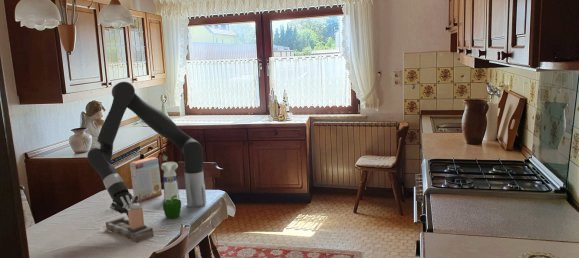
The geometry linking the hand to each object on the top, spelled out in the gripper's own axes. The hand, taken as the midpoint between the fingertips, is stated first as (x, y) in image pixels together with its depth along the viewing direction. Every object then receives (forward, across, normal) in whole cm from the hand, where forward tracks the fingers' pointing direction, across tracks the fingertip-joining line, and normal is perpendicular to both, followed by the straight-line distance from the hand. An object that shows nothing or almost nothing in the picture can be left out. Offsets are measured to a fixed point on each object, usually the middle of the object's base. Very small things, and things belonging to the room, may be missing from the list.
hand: (133, 218), depth 189 cm
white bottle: (-14, +39, +25) cm, 48 cm away
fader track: (+2, 0, +8) cm, 9 cm away
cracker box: (-24, +33, +35) cm, 54 cm away
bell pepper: (+2, +23, +9) cm, 24 cm away
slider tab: (+5, 0, +2) cm, 5 cm away
